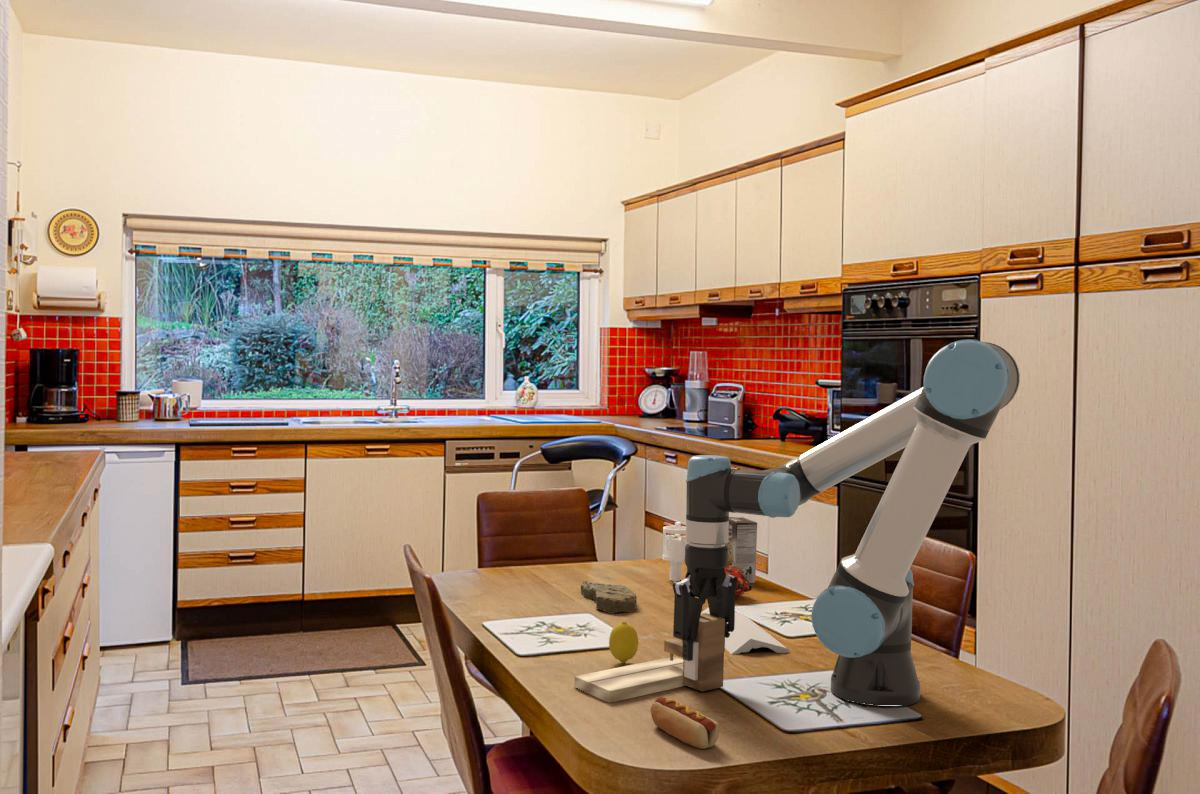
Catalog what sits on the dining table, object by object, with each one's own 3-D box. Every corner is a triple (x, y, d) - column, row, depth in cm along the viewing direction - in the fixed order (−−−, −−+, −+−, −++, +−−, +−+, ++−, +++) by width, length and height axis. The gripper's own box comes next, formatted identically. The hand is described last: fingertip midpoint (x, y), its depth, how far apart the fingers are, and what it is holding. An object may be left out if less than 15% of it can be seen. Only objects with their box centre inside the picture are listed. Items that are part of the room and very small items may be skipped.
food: (726, 749, 157) (727, 716, 156) (696, 756, 154) (697, 722, 154) (672, 721, 168) (672, 690, 168) (643, 727, 166) (644, 695, 165)
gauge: (723, 686, 185) (725, 617, 185) (702, 691, 182) (704, 620, 182) (677, 669, 195) (679, 603, 194) (657, 674, 192) (658, 606, 191)
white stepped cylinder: (690, 578, 281) (691, 522, 281) (686, 583, 274) (687, 526, 274) (664, 576, 283) (665, 520, 282) (659, 581, 276) (661, 524, 275)
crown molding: (790, 655, 210) (790, 637, 210) (731, 657, 208) (731, 639, 208) (744, 620, 239) (745, 604, 239) (692, 621, 237) (692, 605, 236)
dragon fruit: (723, 597, 266) (741, 615, 254) (699, 579, 263) (716, 597, 252) (744, 570, 266) (763, 587, 255) (720, 552, 263) (738, 568, 252)
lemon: (628, 669, 196) (629, 626, 196) (603, 664, 199) (603, 622, 199) (643, 662, 201) (644, 620, 201) (618, 657, 204) (619, 616, 204)
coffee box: (719, 576, 284) (721, 517, 284) (741, 575, 286) (743, 516, 285) (733, 583, 275) (735, 522, 275) (756, 582, 277) (758, 521, 277)
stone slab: (653, 609, 242) (650, 588, 242) (605, 622, 238) (601, 600, 238) (615, 590, 267) (612, 571, 267) (571, 601, 264) (567, 582, 263)
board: (710, 680, 190) (710, 668, 190) (609, 702, 176) (609, 690, 176) (673, 666, 198) (673, 655, 198) (574, 687, 184) (574, 675, 184)
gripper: (729, 536, 193) (725, 662, 194) (653, 544, 182) (649, 678, 183) (758, 542, 187) (754, 672, 188) (681, 551, 176) (678, 689, 177)
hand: (703, 675), depth 186 cm, fingers closed on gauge, 5 cm apart
